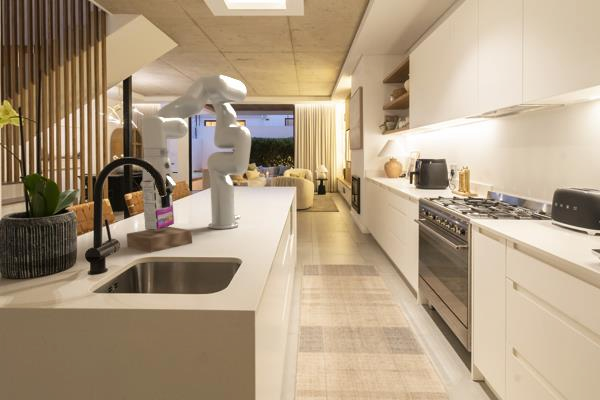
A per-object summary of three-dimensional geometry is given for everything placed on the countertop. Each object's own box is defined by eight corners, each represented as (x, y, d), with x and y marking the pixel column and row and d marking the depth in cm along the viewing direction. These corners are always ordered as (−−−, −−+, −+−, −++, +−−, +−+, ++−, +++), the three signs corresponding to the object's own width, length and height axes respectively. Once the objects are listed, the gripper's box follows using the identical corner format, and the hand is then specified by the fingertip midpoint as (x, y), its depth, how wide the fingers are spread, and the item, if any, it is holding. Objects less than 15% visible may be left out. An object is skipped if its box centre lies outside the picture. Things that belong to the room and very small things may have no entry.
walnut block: (168, 239, 153) (167, 226, 152) (192, 244, 144) (191, 230, 144) (127, 248, 140) (126, 233, 139) (151, 253, 132) (150, 238, 131)
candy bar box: (161, 223, 147) (159, 178, 145) (174, 224, 146) (172, 178, 144) (143, 229, 137) (140, 180, 134) (157, 230, 136) (154, 180, 134)
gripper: (183, 153, 138) (185, 206, 140) (146, 153, 146) (149, 204, 148) (166, 153, 131) (169, 209, 133) (128, 154, 139) (132, 207, 141)
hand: (158, 206), depth 141 cm, fingers closed on candy bar box, 6 cm apart
